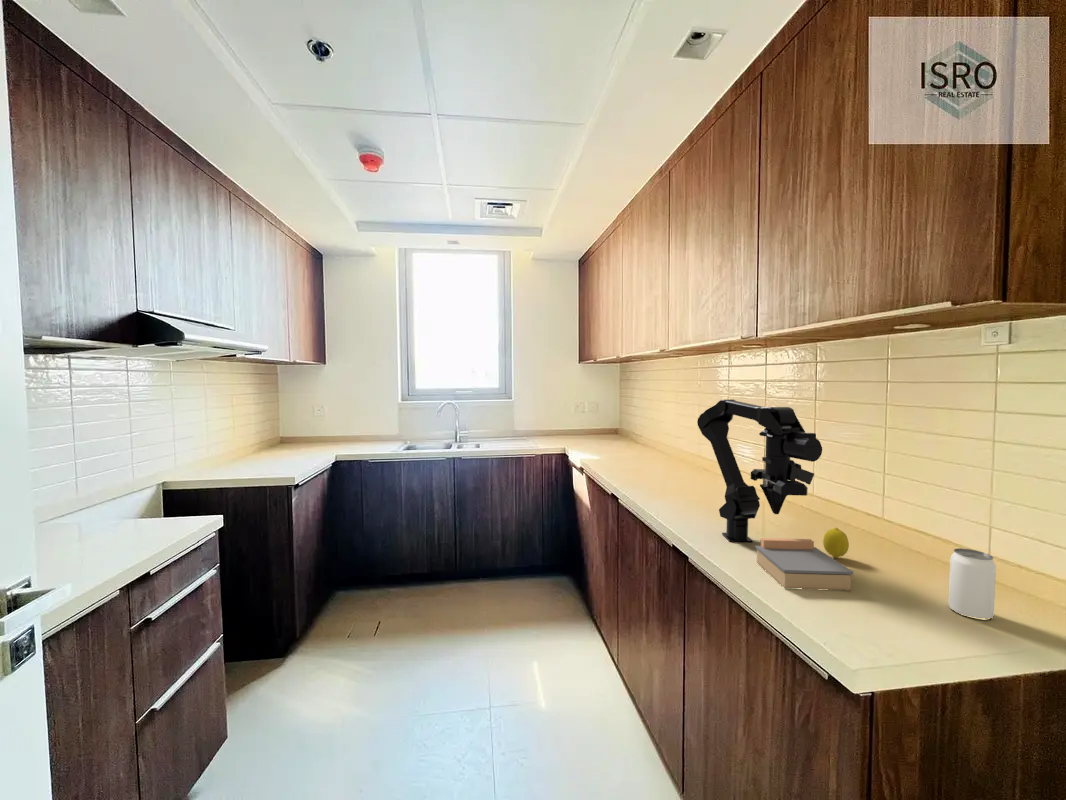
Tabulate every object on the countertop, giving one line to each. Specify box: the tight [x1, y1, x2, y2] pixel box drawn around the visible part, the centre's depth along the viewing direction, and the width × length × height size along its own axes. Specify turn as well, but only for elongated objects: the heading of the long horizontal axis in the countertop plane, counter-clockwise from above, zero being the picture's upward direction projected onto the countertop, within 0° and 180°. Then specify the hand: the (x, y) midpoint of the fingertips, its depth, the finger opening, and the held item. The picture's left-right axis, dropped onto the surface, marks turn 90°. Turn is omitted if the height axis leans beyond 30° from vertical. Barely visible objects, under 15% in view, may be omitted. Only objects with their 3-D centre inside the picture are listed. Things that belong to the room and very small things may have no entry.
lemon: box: [822, 527, 850, 559], centre depth 117 cm, size 6×6×8 cm
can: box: [948, 548, 997, 619], centre depth 89 cm, size 6×6×12 cm
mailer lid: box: [755, 537, 854, 576], centre depth 105 cm, size 15×15×3 cm
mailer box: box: [756, 549, 852, 592], centre depth 106 cm, size 14×14×4 cm
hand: (775, 513), depth 118 cm, fingers closed
